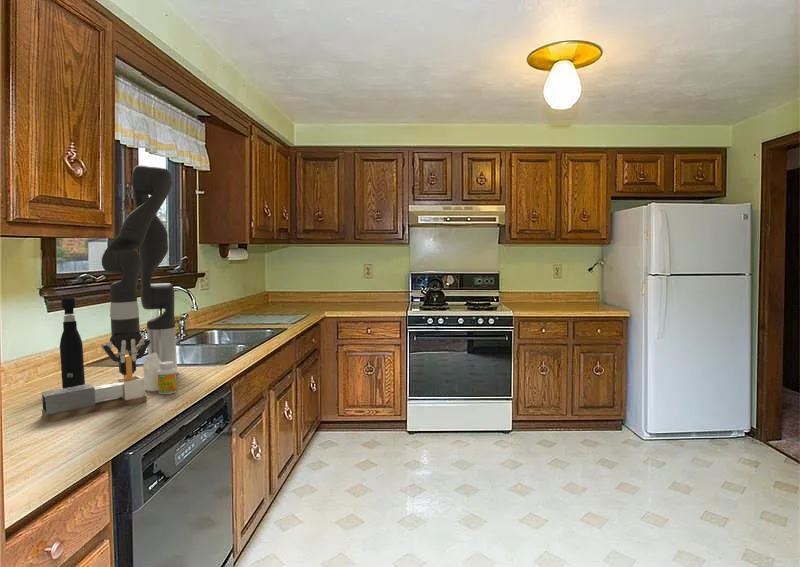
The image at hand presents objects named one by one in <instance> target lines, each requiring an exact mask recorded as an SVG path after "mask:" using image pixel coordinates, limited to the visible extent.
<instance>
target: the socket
mask: <svg viewBox="0 0 800 567" xmlns="http://www.w3.org/2000/svg"><path fill="white" fill-rule="evenodd" d="M123 381H124V377H120V378H119V377H118V378H117V383H118V382H123ZM144 396H146V391H145V382H144V377H142V376H140V375H137V374H135V375H133V380H130V381H125V382H124V396H123V397H121V398H123V399H124V400H129V399H134V398H139V397H144Z"/></svg>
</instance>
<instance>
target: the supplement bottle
mask: <svg viewBox="0 0 800 567" xmlns="http://www.w3.org/2000/svg"><path fill="white" fill-rule="evenodd" d="M160 368H161V369H160V370H159V371H158V390H157V391H158V394H160V395H162V394H167V395H171V394H172V393H173V394H175V393H177V391H178V387H177V386H178V383H177V374H176V370H175V369H174V368H173V362H172V361H165V362H161V363H160ZM173 394H172V395H173Z"/></svg>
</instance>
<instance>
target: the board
mask: <svg viewBox="0 0 800 567" xmlns="http://www.w3.org/2000/svg"><path fill="white" fill-rule="evenodd" d="M144 401H147V396H146V395H145V396H144V397H139V398H134V399H129V400H124V399H123V398H121V397H118V398H113V399H108V400H103V401H98V402H95V404H96V406H93V407H88V408H83V409H78V410H73V411H68V412H63V413H58V414H53V415H48V416H47V415H46V414H45V413H44V412H43V409H41V416H42V417H43V418H44V419H45V420H46V421H47V423H52V422H57V421H60V420H61V419H62V420H64V419H65V420H66V419H69V418H70V417H71V418H74V416H76V417H81V416H85V415H91V414H94V413H95V414H96V413H99V412H100V413H101V412H104V411H109V410H114V409H119V408H123V407H128V406H132V405H133V406H134V405H137V403H138V404H141V402H143V403H145V402H144ZM80 415H81V416H80ZM56 420H57V421H56Z"/></svg>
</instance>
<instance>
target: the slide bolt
mask: <svg viewBox="0 0 800 567" xmlns="http://www.w3.org/2000/svg"><path fill="white" fill-rule="evenodd" d="M125 363H126V375H123V378H124V381H123V382H118V381H117V382H114V383H109V384H108V383H107V384H102V385H96V386H93V387H94V388H95V402H98V401H103V400H108V399H113V398H118V397H123V396H124V382H125V381H130V380H133V376H134V375H133V374H132V357H131V356H130V355H129V354H125Z"/></svg>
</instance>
